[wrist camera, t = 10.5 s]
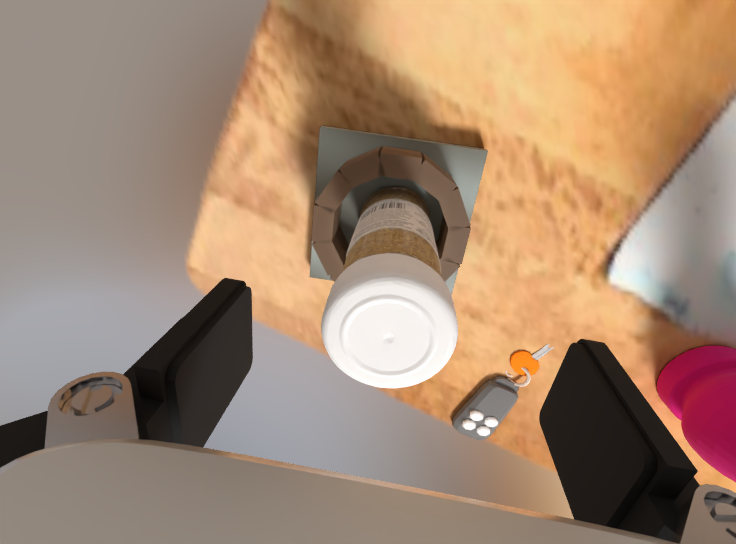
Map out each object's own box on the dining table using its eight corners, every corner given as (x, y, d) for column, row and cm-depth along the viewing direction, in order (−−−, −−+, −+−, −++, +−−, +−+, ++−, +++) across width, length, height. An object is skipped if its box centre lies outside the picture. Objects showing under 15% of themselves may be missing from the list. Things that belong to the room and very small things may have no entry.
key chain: (485, 433, 33) (488, 447, 32) (448, 418, 33) (450, 431, 32) (581, 323, 28) (590, 334, 27) (538, 302, 28) (545, 313, 26)
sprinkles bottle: (361, 251, 26) (322, 391, 13) (359, 183, 24) (312, 274, 11) (430, 252, 25) (454, 397, 13) (433, 183, 23) (466, 277, 11)
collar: (323, 125, 23) (308, 130, 20) (484, 148, 23) (499, 158, 19) (312, 271, 28) (298, 297, 24) (449, 291, 27) (456, 321, 24)
